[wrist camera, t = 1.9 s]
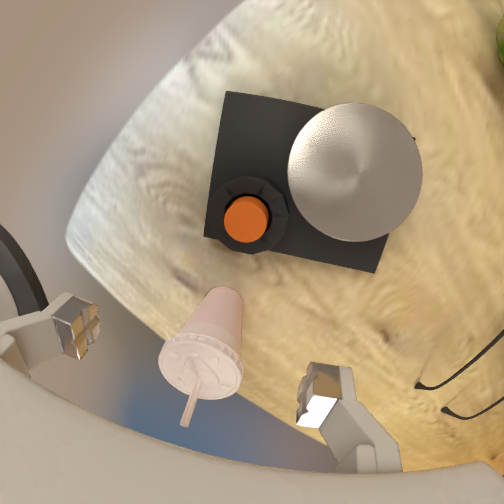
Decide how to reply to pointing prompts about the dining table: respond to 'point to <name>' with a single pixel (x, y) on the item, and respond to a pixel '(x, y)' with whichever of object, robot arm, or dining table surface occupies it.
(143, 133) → the dining table surface
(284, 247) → the scale
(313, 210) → the scale pan
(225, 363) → the smoothie
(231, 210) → the tare button
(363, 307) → the dining table surface
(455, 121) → the dining table surface
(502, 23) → the decorative ball
